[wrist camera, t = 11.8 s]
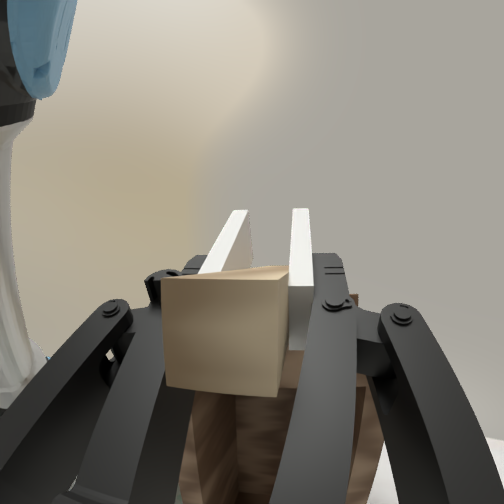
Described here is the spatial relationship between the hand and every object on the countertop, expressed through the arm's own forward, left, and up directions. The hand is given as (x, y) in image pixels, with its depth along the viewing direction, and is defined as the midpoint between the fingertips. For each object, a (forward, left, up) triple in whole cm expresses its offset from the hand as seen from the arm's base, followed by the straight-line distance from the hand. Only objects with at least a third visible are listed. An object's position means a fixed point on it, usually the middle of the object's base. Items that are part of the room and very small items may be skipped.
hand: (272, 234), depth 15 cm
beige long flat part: (0, +4, -4) cm, 6 cm away
